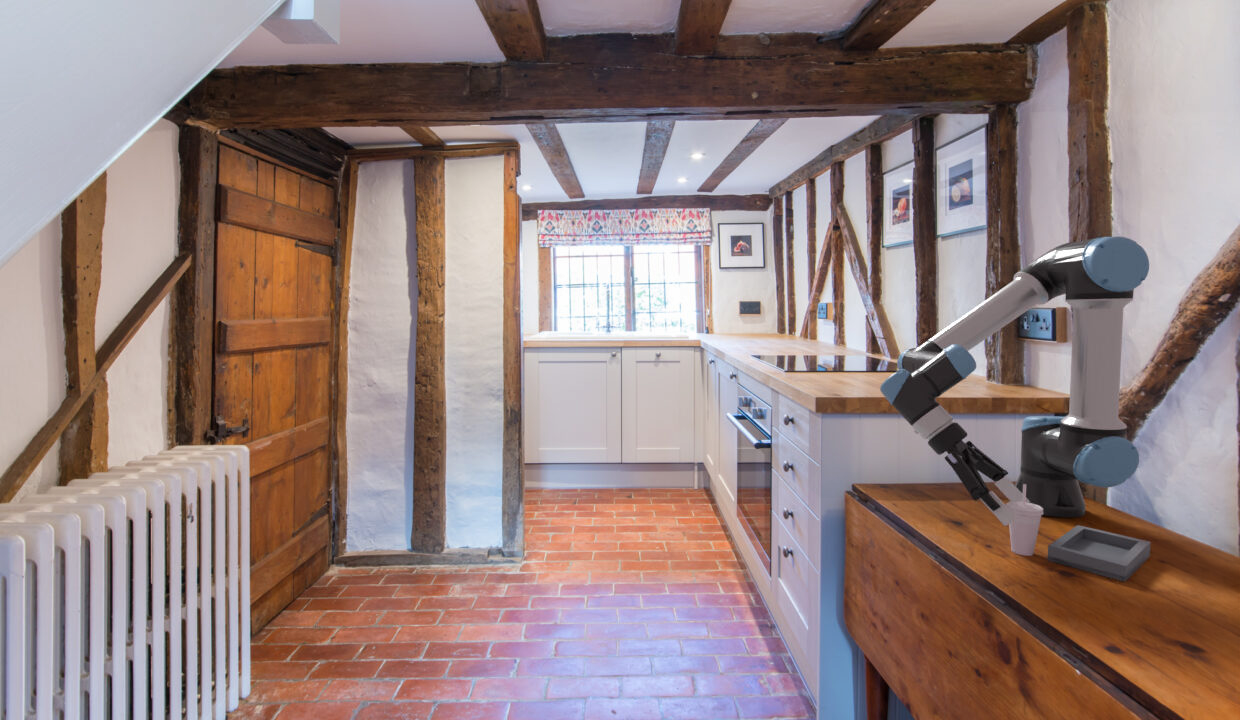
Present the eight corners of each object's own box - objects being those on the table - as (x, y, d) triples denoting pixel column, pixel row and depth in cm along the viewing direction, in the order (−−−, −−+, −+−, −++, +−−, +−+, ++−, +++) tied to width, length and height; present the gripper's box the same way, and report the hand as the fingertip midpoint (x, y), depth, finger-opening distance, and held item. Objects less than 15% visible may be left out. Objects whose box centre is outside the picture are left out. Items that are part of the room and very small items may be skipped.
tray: (1076, 538, 129) (1077, 524, 129) (1149, 556, 119) (1150, 541, 119) (1047, 560, 118) (1048, 545, 118) (1124, 582, 108) (1126, 566, 108)
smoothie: (1035, 548, 124) (1038, 482, 123) (1046, 560, 118) (1049, 491, 117) (999, 544, 126) (1002, 479, 125) (1008, 556, 120) (1011, 488, 119)
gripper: (942, 432, 142) (1013, 507, 133) (908, 451, 123) (988, 540, 115) (968, 412, 138) (1044, 489, 129) (937, 429, 119) (1023, 520, 111)
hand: (1018, 513), depth 122 cm, fingers open, 13 cm apart
